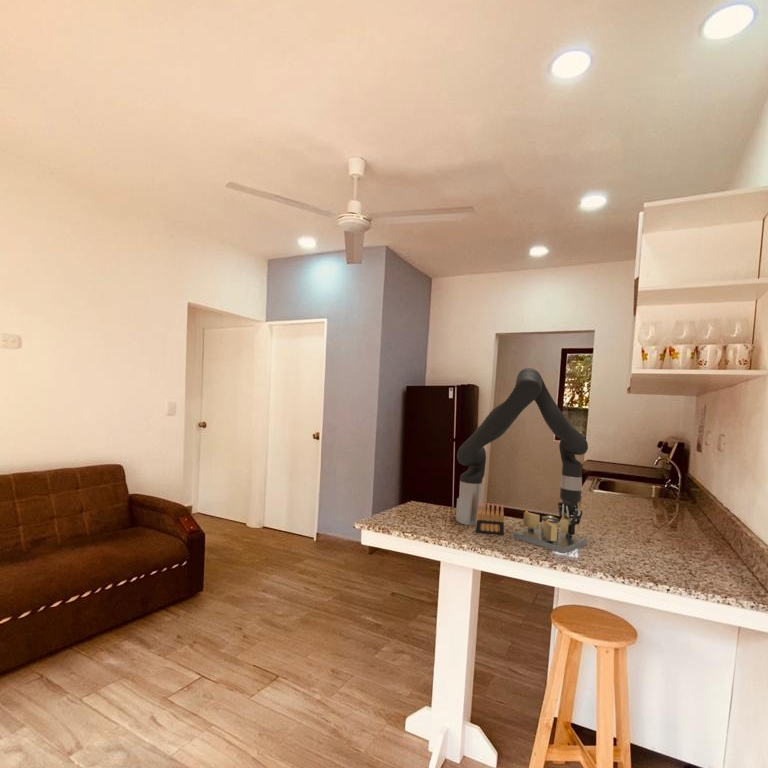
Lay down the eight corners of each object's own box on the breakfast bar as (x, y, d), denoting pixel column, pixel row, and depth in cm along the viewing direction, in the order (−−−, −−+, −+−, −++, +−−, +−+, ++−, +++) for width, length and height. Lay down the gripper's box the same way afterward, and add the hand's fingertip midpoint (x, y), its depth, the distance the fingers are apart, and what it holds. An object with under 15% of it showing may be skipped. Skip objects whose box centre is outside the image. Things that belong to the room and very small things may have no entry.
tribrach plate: (513, 537, 167) (514, 513, 168) (537, 530, 179) (538, 508, 180) (563, 553, 152) (564, 526, 153) (586, 545, 164) (587, 520, 165)
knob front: (550, 544, 155) (551, 524, 156) (542, 539, 161) (543, 519, 161) (556, 544, 156) (557, 524, 156) (548, 539, 161) (549, 519, 162)
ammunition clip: (475, 533, 170) (477, 502, 171) (475, 531, 172) (476, 501, 173) (503, 535, 170) (505, 504, 170) (502, 534, 171) (504, 503, 172)
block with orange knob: (535, 532, 169) (536, 514, 170) (523, 528, 174) (523, 510, 174) (538, 531, 171) (539, 513, 171) (526, 528, 175) (526, 510, 175)
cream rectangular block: (577, 538, 165) (577, 519, 165) (561, 535, 167) (562, 517, 167) (576, 536, 167) (577, 518, 168) (560, 534, 169) (561, 515, 169)
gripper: (590, 492, 161) (588, 539, 161) (570, 484, 175) (567, 527, 175) (571, 491, 160) (569, 538, 160) (552, 483, 174) (549, 526, 174)
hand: (568, 532), depth 167 cm, fingers closed on cream rectangular block, 3 cm apart
